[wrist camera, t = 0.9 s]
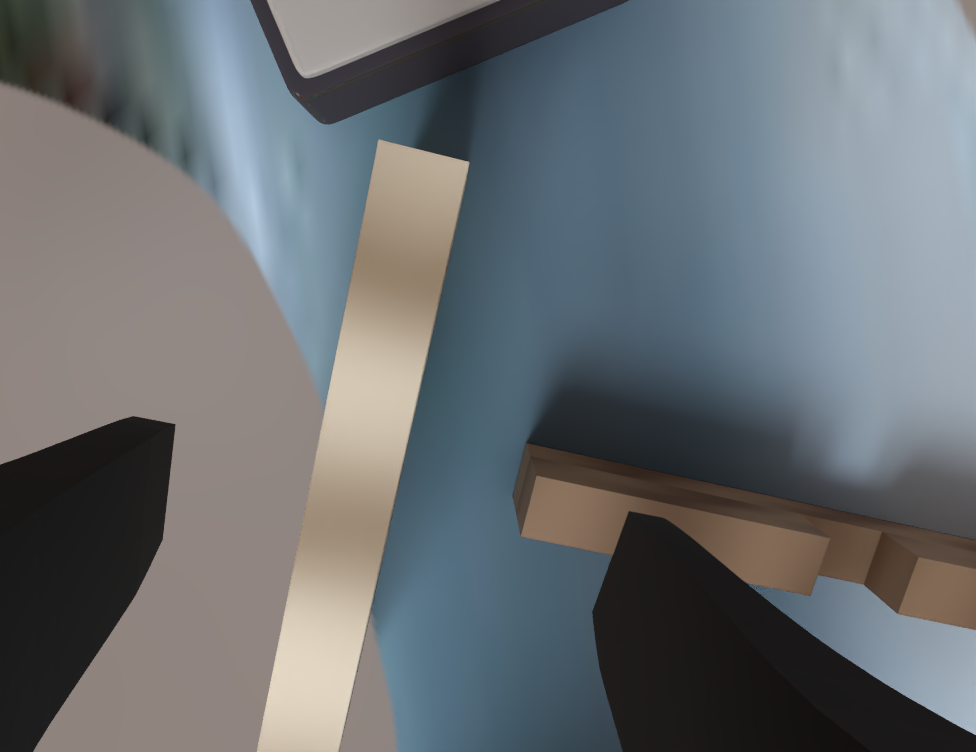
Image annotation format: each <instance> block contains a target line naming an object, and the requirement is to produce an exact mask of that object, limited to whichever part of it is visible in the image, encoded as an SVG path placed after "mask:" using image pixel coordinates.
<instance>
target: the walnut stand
mask: <svg viewBox="0 0 976 752" xmlns="http://www.w3.org/2000/svg"><path fill="white" fill-rule="evenodd" d="M513 500H514V505H515V510H516V515H517V520H518V524H519V529H520V534H521V537H526V538H531V539H536V540H540V541H545V542H550V543H555V544H560V545H565V546H570V547H575V548H579V549H584V550H589V551H594V552H599V553H604V554H609V555H613V553H614V551H615V548H616V545H617V542H618V540H619V537H620V534H621V531H622V529H623V526H624V523H625V520H626V517H627V515H628V512H629V511H631V512H637V513H642V514H647V515H652V516H657V517H663V518H665V519H667V520H668V521H670V522H671V523H673V524H674V525H676V526H677V527H678V528H680V529H681V530H682V531H684V532H685V533H686V534H688V535H689V536H690V537H691V538H693V539H694V540H695V541H696V542H698V543H699V544H700V545H701V546H702V547H704V548H705V549H706V550H707V551H708V552H710V553H711V554H712V555H713V556H714V557H716V558H717V559H718V560H719V561H720V562H721V563H723V564H724V565H725V566H726V567H727V568H729V569H730V570H731V571H732V572H733V573H735V574H736V575H737V576H738V577H739V578H741V579H742V580H743V581H744V582H745V583H750V584H755V585H760V586H764V587H769V588H774V589H779V590H784V591H789V592H794V593H798V594H803V595H808V596H811V593H812V590H813V587H814V584H815V581H816V578H817V575H821V576H826V577H831V578H835V579H840V580H845V581H850V582H855V583H859V584H864V585H865V586H866V587H867V588H868V589H869V590H871V591H872V592H873V593H874V594H875V595H876V596H878V597H879V598H880V599H881V600H882V601H883V602H885V603H886V604H887V605H888V606H889V607H890V608H891V609H893V610H894V611H895V612H896V613H897V614H901V615H906V616H910V617H915V618H920V619H925V620H930V621H935V622H940V623H944V624H949V625H954V626H959V627H964V628H969V629H974V630H976V540H971V539H967V538H962V537H958V536H953V535H948V534H944V533H939V532H935V531H930V530H925V529H921V528H916V527H911V526H907V525H902V524H898V523H893V522H888V521H884V520H879V519H875V518H870V517H865V516H861V515H856V514H851V513H847V512H842V511H838V510H833V509H828V508H824V507H819V506H814V505H810V504H805V503H801V502H796V501H791V500H787V499H782V498H778V497H773V496H768V495H764V494H759V493H754V492H750V491H745V490H741V489H736V488H731V487H727V486H722V485H718V484H713V483H708V482H704V481H699V480H694V479H690V478H685V477H681V476H676V475H671V474H667V473H662V472H658V471H653V470H648V469H644V468H639V467H634V466H630V465H625V464H621V463H616V462H611V461H607V460H602V459H597V458H593V457H588V456H584V455H579V454H574V453H570V452H565V451H561V450H556V449H551V448H547V447H542V446H537V445H533V444H528V443H526V445H525V449H524V453H523V457H522V461H521V465H520V469H519V473H518V477H517V481H516V485H515V489H514V493H513Z"/></svg>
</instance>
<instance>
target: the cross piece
mask: <svg viewBox="0 0 976 752" xmlns="http://www.w3.org/2000/svg"><path fill="white" fill-rule="evenodd" d="M468 168H469V162H467V161H463V160H459V159H455V158H451V157H447V156H443V155H439V154H435V153H431V152H427V151H423V150H419V149H415V148H411V147H407V146H402V145H398V144H394V143H390V142H386V141H382V140H379V141H378V146H377V151H376V156H375V161H374V166H373V171H372V176H371V181H370V186H369V191H368V196H367V201H366V206H365V211H364V216H363V221H362V226H361V231H360V236H359V241H358V246H357V251H356V256H355V262H354V267H353V272H352V277H351V282H350V287H349V292H348V297H347V302H346V307H345V312H344V317H343V322H342V327H341V332H340V337H339V342H338V347H337V352H336V357H335V362H334V367H333V372H332V377H331V382H330V387H329V392H328V397H327V402H326V407H325V412H324V417H323V422H322V427H321V432H320V437H319V443H318V447H317V452H316V458H315V462H314V468H313V473H312V477H311V482H310V487H309V493H308V498H307V503H306V508H305V513H304V518H303V523H302V528H301V533H300V538H299V543H298V548H297V553H296V558H295V563H294V568H293V573H292V578H291V583H290V588H289V593H288V598H287V603H286V608H285V613H284V618H283V623H282V628H281V634H280V638H279V643H278V649H277V653H276V658H275V663H274V668H273V673H272V678H271V683H270V688H269V694H268V699H267V704H266V708H265V714H264V719H263V724H262V729H261V734H260V739H259V744H258V749H257V752H339V750H340V746H341V741H342V737H343V732H344V728H345V724H346V719H347V715H348V710H349V707H350V702H351V698H352V694H353V689H354V684H355V680H356V676H357V672H358V667H359V663H360V658H361V653H362V649H363V645H364V640H365V636H366V631H367V627H368V622H369V618H370V613H371V609H372V604H373V600H374V595H375V591H376V586H377V582H378V577H379V573H380V568H381V564H382V559H383V555H384V550H385V546H386V541H387V537H388V532H389V528H390V523H391V519H392V514H393V510H394V505H395V501H396V496H397V492H398V488H399V482H400V477H401V473H402V468H403V464H404V459H405V455H406V450H407V446H408V441H409V437H410V432H411V428H412V424H413V419H414V415H415V411H416V407H417V402H418V398H419V393H420V389H421V384H422V380H423V375H424V371H425V366H426V362H427V357H428V353H429V348H430V344H431V339H432V335H433V330H434V326H435V321H436V317H437V312H438V308H439V303H440V299H441V294H442V290H443V285H444V281H445V276H446V272H447V267H448V263H449V258H450V254H451V250H452V245H453V241H454V236H455V232H456V227H457V223H458V218H459V214H460V209H461V205H462V200H463V196H464V191H465V187H466V181H467V174H468Z"/></svg>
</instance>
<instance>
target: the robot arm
mask: <svg viewBox="0 0 976 752" xmlns="http://www.w3.org/2000/svg"><path fill="white" fill-rule="evenodd" d="M174 433H175V424H171V423H166V422H161V421H156V420H150V419H145V418H140V417H134V416H133V417H129V418H125V419H122V420H119V421H116V422H113V423H110V424H108V425H105V426H102V427H100V428H97V429H94V430H92V431H89V432H87V433H84V434H81V435H79V436H76V437H74V438H71V439H69V440H66V441H63V442H61V443H58V444H55V445H53V446H50V447H48V448H45V449H42V450H40V451H38V452H35V453H32V454H29V455H27V456H24V457H21V458H19V459H16V460H13V461H10V462H7V463H4V464H1V465H0V752H33V751H34V749H35V747H36V746H37V744H38V742H39V741H40V739H41V738H42V736H43V734H44V733H45V731H46V729H47V728H48V726H49V724H50V723H51V721H52V720H53V719H54V717H55V715H56V714H57V713H58V711H59V710H60V708H61V706H62V705H63V704H64V702H65V701H66V699H67V697H68V696H69V694H70V693H71V692H72V690H73V689H74V687H75V686H76V684H77V683H78V681H79V680H80V678H81V677H82V675H83V674H84V672H85V671H86V669H87V668H88V666H89V665H90V663H91V662H92V660H93V659H94V657H95V656H96V654H97V653H98V651H99V650H100V648H101V647H102V646H103V644H104V643H105V641H106V640H107V638H108V637H109V635H110V634H111V632H112V630H113V629H114V627H115V626H116V624H117V623H118V621H119V620H120V618H121V617H122V615H123V614H124V612H125V611H126V609H127V607H128V606H129V604H130V603H131V602H132V600H133V598H134V596H135V595H136V593H137V591H138V589H139V587H140V585H141V583H142V581H143V579H144V577H145V575H146V573H147V571H148V569H149V567H150V565H151V563H152V561H153V559H154V557H155V555H156V552H157V550H158V548H159V546H160V544H161V542H162V540H163V531H164V522H165V513H166V504H167V495H168V486H169V478H170V468H171V460H172V451H173V441H174ZM592 614H593V623H594V631H595V640H596V647H597V654H598V660H599V667H600V671H601V675H602V679H603V683H604V687H605V690H606V694H607V697H608V701H609V705H610V708H611V712H612V715H613V719H614V722H615V726H616V729H617V733H618V736H619V740H620V743H621V747H622V750H623V752H976V735H974V734H972V733H970V732H968V731H966V730H965V729H963V728H961V727H959V726H957V725H955V724H953V723H952V722H950V721H948V720H946V719H945V718H943V717H941V716H939V715H938V714H936V713H934V712H932V711H930V710H929V709H927V708H925V707H923V706H922V705H920V704H918V703H916V702H915V701H913V700H911V699H909V698H908V697H906V696H904V695H903V694H901V693H899V692H898V691H896V690H894V689H893V688H891V687H889V686H888V685H886V684H884V683H883V682H881V681H880V680H878V679H876V678H875V677H873V676H872V675H870V674H869V673H867V672H866V671H864V670H863V669H861V668H860V667H858V666H857V665H855V664H854V663H852V662H851V661H849V660H848V659H846V658H845V657H843V656H842V655H840V654H839V653H837V652H836V651H834V650H833V649H831V648H830V647H828V646H827V645H826V644H824V643H823V642H821V641H820V640H819V639H817V638H816V637H814V636H813V635H812V634H810V633H809V632H808V631H806V630H805V629H804V628H802V627H801V626H800V625H798V624H797V623H796V622H795V621H793V620H792V619H791V618H789V617H788V616H787V615H785V614H784V613H783V612H781V611H780V610H779V609H777V608H776V607H775V606H774V605H772V604H771V603H770V602H769V601H767V600H766V599H765V598H764V597H762V596H761V595H760V594H759V593H758V592H756V591H755V590H754V589H753V588H751V587H750V586H749V585H748V584H747V583H745V582H744V581H743V580H742V579H741V578H739V577H738V576H737V575H736V574H735V573H733V572H732V571H731V570H730V569H729V568H727V567H726V566H725V565H724V564H723V563H721V562H720V561H719V560H718V559H717V558H716V557H714V556H713V555H712V554H711V553H710V552H708V551H707V550H706V549H705V548H704V547H702V546H701V545H700V544H699V543H698V542H696V541H695V540H694V539H693V538H691V537H690V536H689V535H688V534H686V533H685V532H684V531H682V530H681V529H680V528H678V527H677V526H676V525H674V524H673V523H671V522H670V521H668V520H667V519H665V518H663V517H657V516H652V515H647V514H642V513H637V512H631V511H629V512H628V515H627V517H626V520H625V523H624V526H623V529H622V531H621V534H620V537H619V540H618V542H617V545H616V548H615V551H614V553H613V556H612V559H611V562H610V564H609V567H608V570H607V573H606V575H605V578H604V581H603V584H602V587H601V589H600V592H599V595H598V598H597V600H596V603H595V606H594V609H593V611H592Z"/></svg>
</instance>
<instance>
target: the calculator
mask: <svg viewBox="0 0 976 752" xmlns="http://www.w3.org/2000/svg"><path fill="white" fill-rule="evenodd" d="M626 1H628V0H251V3H252V5H253V8H254V10H255V12H256V15H257V17H258V19H259V22H260V24H261V26H262V29H263V31H264V34H265V36H266V38H267V41H268V43H269V45H270V48H271V50H272V53H273V55H274V57H275V60H276V62H277V64H278V67H279V69H280V72H281V74H282V76H283V79H284V81H285V83H286V85H287V88H288V90H289V91H290V93H291V94H292V96H293V97H294V98H295V99H296V100H297V101H298V102H299V103H300V104H301V105H302V106H303V107H304V108H305V109H306V110H307V111H308V112H309V113H310V114H311V115H312V116H313V117H314V118H315V119H317V120H318V121H319V122H321V123H323V124H333V123H336V122H338V121H341V120H343V119H346V118H348V117H350V116H353V115H355V114H358V113H360V112H362V111H365V110H367V109H370V108H372V107H374V106H377V105H379V104H382V103H384V102H387V101H389V100H391V99H394V98H396V97H399V96H401V95H403V94H406V93H408V92H411V91H413V90H415V89H418V88H420V87H423V86H425V85H427V84H430V83H432V82H435V81H437V80H439V79H442V78H444V77H447V76H449V75H451V74H454V73H456V72H459V71H461V70H464V69H466V68H468V67H471V66H473V65H476V64H478V63H480V62H483V61H485V60H488V59H490V58H492V57H495V56H497V55H500V54H502V53H504V52H507V51H509V50H512V49H514V48H516V47H519V46H521V45H524V44H526V43H529V42H531V41H533V40H536V39H538V38H541V37H543V36H545V35H548V34H550V33H553V32H555V31H557V30H560V29H562V28H565V27H567V26H569V25H572V24H574V23H577V22H579V21H581V20H584V19H586V18H589V17H591V16H593V15H596V14H598V13H601V12H603V11H606V10H608V9H610V8H613V7H615V6H618V5H620V4H622V3H624V2H626Z"/></svg>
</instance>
